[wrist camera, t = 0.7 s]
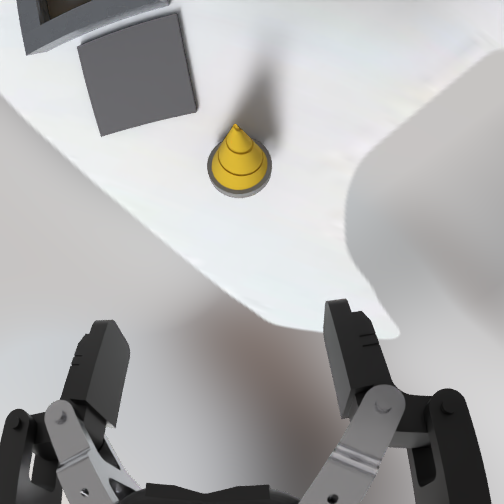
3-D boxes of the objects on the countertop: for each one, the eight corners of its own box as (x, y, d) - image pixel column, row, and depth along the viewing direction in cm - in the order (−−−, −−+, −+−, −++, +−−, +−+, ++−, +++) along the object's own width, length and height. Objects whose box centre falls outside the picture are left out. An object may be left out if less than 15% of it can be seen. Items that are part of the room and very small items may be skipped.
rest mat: (177, 14, 20) (176, 13, 20) (196, 110, 25) (196, 112, 25) (79, 46, 21) (77, 46, 20) (103, 134, 26) (101, 136, 25)
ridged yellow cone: (201, 177, 30) (179, 122, 20) (245, 145, 30) (242, 81, 21) (236, 219, 29) (227, 176, 19) (281, 185, 30) (293, 130, 20)
